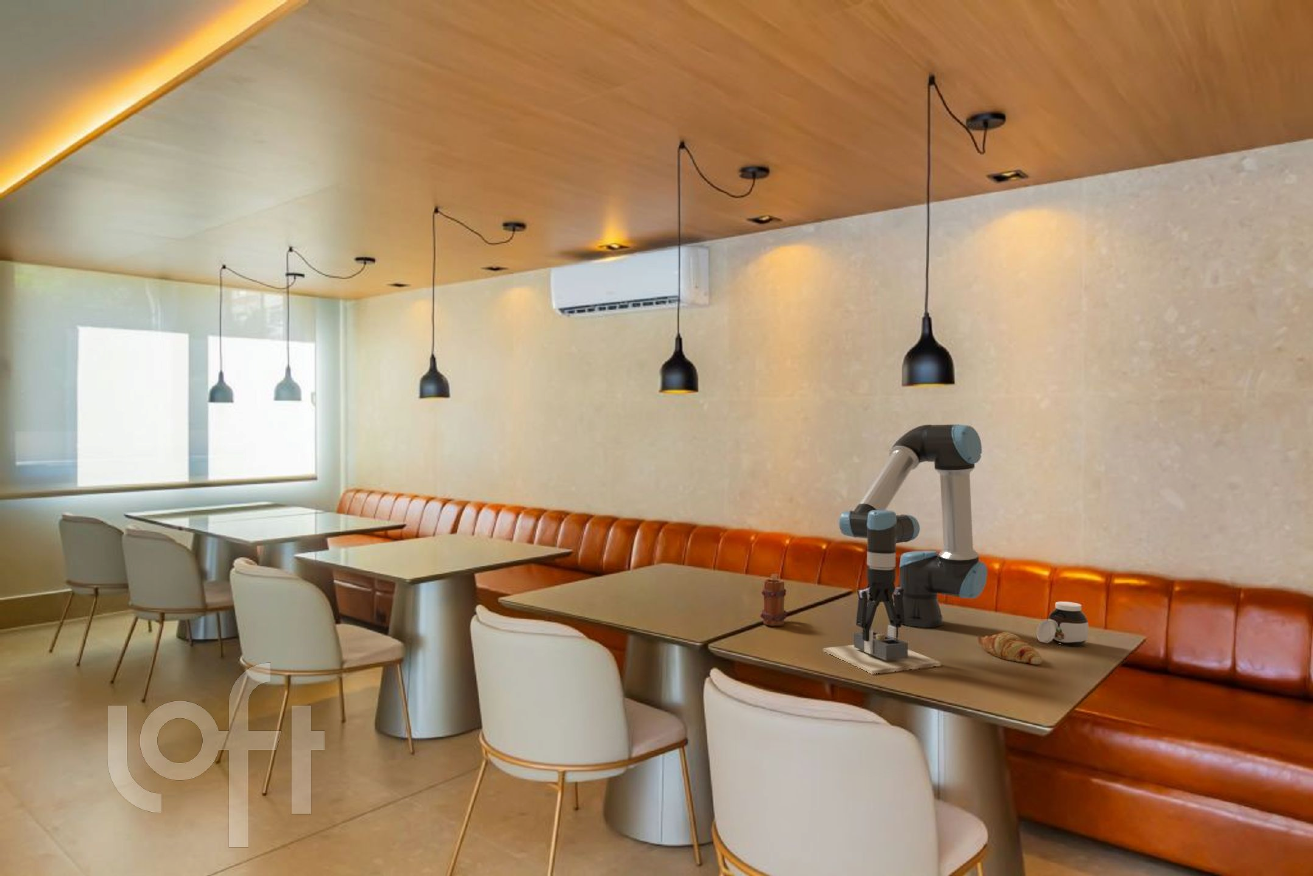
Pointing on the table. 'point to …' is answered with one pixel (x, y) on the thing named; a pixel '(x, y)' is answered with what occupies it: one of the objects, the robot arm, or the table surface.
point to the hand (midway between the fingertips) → (880, 651)
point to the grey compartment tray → (884, 646)
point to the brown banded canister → (773, 601)
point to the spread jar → (1064, 625)
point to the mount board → (878, 664)
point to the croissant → (1010, 648)
